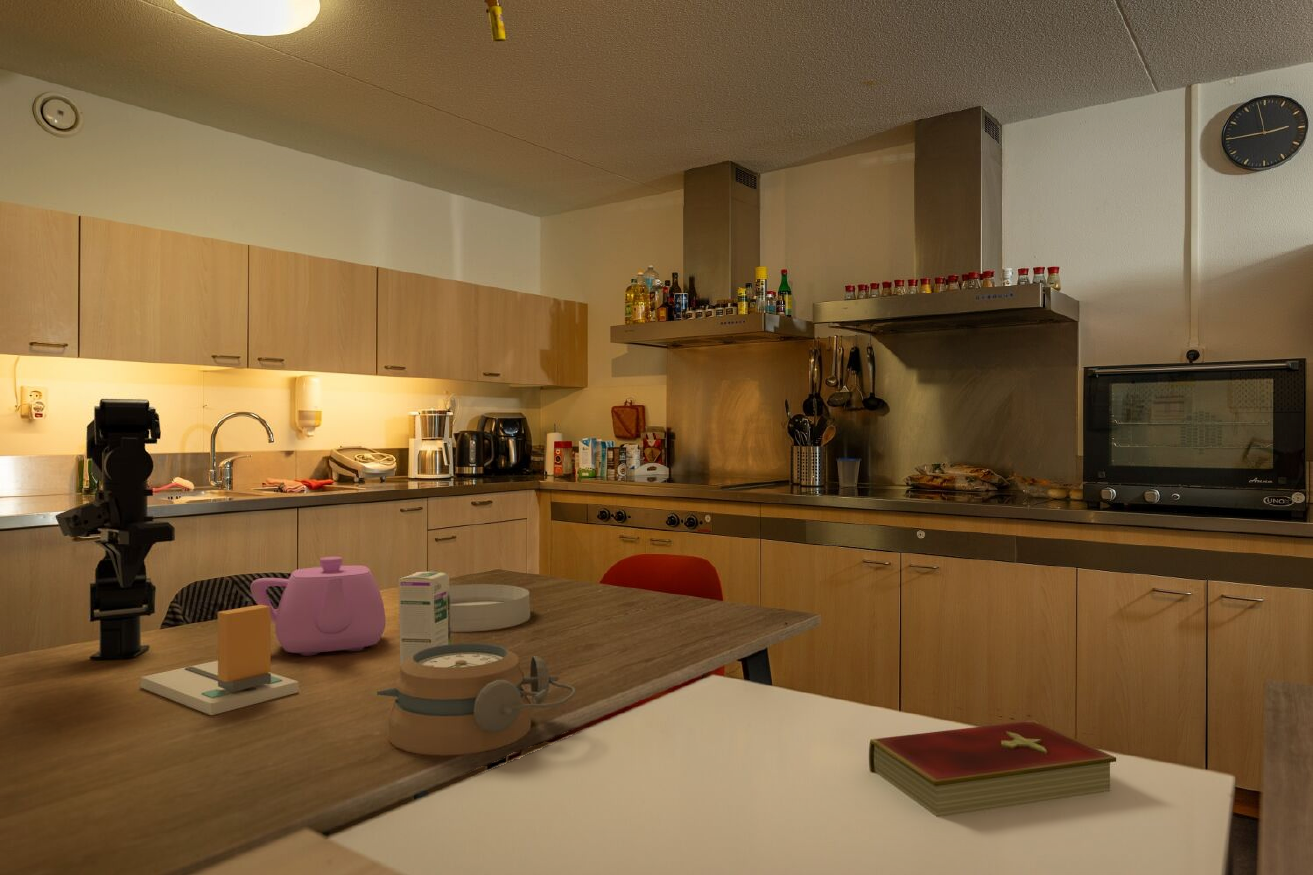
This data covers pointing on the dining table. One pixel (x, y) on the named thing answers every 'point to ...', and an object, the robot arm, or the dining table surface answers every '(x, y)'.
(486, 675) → the alarm clock
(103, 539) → the robot arm
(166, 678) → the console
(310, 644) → the teapot
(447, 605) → the syrup box
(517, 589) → the dish
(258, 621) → the fader
